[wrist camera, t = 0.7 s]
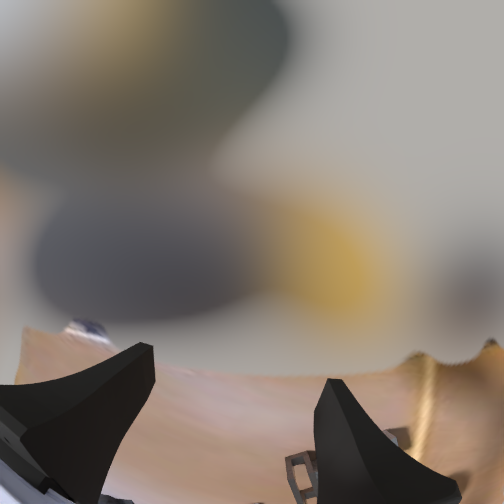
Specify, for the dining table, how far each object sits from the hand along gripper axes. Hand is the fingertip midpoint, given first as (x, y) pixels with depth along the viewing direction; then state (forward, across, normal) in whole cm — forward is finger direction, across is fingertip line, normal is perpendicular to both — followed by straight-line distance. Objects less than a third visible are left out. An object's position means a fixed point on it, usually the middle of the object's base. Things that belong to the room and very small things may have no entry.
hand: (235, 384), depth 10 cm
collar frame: (+11, -10, +27) cm, 31 cm away
